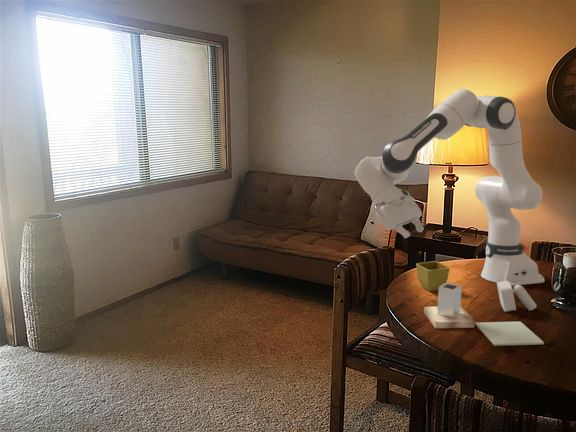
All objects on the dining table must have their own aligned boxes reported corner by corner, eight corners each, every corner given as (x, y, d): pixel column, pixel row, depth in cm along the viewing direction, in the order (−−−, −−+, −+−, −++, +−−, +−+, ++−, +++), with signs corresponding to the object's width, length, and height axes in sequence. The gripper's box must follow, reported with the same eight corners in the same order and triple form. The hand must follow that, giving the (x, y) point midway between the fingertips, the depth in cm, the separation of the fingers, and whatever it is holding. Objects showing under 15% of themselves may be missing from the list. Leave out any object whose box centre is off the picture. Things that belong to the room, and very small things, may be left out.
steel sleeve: (437, 314, 160) (438, 287, 158) (444, 309, 164) (445, 282, 162) (453, 318, 157) (455, 290, 155) (460, 313, 161) (461, 286, 159)
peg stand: (460, 311, 167) (462, 285, 165) (474, 327, 155) (476, 299, 153) (423, 312, 167) (425, 286, 165) (435, 328, 155) (436, 300, 153)
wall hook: (540, 313, 163) (535, 284, 162) (506, 318, 166) (500, 289, 164) (533, 303, 171) (528, 275, 169) (501, 308, 173) (496, 281, 172)
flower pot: (427, 294, 182) (428, 270, 180) (414, 286, 190) (415, 263, 188) (448, 291, 184) (450, 267, 182) (435, 283, 193) (436, 260, 191)
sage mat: (520, 323, 158) (520, 321, 157) (543, 344, 144) (543, 342, 144) (475, 324, 157) (475, 322, 157) (494, 345, 143) (494, 343, 143)
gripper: (378, 198, 157) (406, 234, 153) (409, 190, 173) (435, 222, 169) (366, 211, 161) (392, 246, 157) (397, 201, 176) (422, 233, 172)
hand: (415, 233), depth 163 cm, fingers open, 8 cm apart
